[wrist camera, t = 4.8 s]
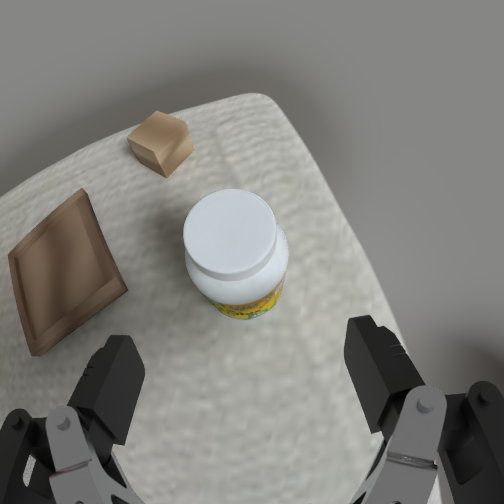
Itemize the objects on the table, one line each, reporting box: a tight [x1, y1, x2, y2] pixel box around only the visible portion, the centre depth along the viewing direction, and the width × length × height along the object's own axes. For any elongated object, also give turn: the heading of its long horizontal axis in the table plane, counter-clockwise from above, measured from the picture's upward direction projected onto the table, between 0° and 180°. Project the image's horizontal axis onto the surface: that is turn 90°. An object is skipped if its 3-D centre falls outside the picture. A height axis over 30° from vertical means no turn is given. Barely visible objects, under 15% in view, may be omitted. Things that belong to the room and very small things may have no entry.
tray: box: [8, 188, 128, 357], centre depth 21 cm, size 12×12×1 cm
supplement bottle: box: [183, 189, 289, 320], centre depth 16 cm, size 5×5×10 cm
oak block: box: [127, 111, 194, 178], centre depth 24 cm, size 4×4×4 cm
